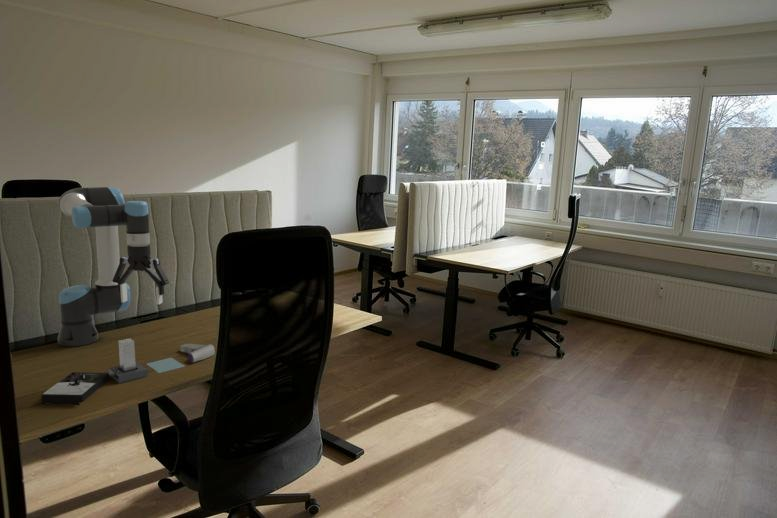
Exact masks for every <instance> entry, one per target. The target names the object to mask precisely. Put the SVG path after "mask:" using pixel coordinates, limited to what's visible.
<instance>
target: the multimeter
mask: <svg viewBox="0 0 777 518" xmlns="http://www.w3.org/2000/svg"><path fill="white" fill-rule="evenodd" d="M110 377H111V376H110V375H109V372H86V371H84V372H83V371H82V372H79V371H77V372H75V371H74V372H71V373H69V374H68V375H67V376H65V377H64V378H63V379H61V380H60V381H59V382H57V383H55V384H54V385H52V387H50V388H48V389H47V390H46V391H44V393H42V394H41V404H42V403H49V404H48V405H61V404H72V405H71V406H76V405H77V406H80V405H81V404H80V403H83V402H84V401H86V400H87V399H88V398H89V397H91V396H92V394H93V393H95V392H96V391H97V390H98V389H100V388H101V387H102V386H103V385H105V384H106V383H107V382H108V381H109V380H110V379H111V378H110ZM50 403H51V404H50Z"/></svg>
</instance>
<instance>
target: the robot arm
mask: <svg viewBox="0 0 777 518" xmlns="http://www.w3.org/2000/svg"><path fill="white" fill-rule="evenodd" d="M58 209H59V210H60V211H61V212H62V213H63V214H64V215H66V216H67V217H71V221H72V224H73V225H72V226H73V227H75V228H79V229H81V228H82V229H87V228H95V239H96V256H97V259H96V260H97V272H98V278H97V280H96V281H95V283H94V284H95V285H94V286H95V287H91V286H90V285H89V284H77V285H72V286H68V287H65V288H63V289H62V290H61V291H60V292H59V295H58V304H59V313H60V329H59V332H58V336H57V345H59V346H62V347H79V346H80V347H81V346H87V345H90V344H93V343H95V342H97V341H98V340H99V332H98V330H97V328H96V326H95V323H94V322H93V316H94V315H102V314H110V313H118V312H122V311H127V310H128V308H129V307H130V303H131V287H130V284H128V283H127V282H126V280H128V278H129V277H130V275H132V273H133V272H134V271H136V272H137V271H140V272H145V273H147V275H148V276H149V277H150V278H151V279H152V280H153V282H154V284H156V285H157V286H155V292H156V293H155V296H156V305H161V304H163V301H164V300H163V295H165V286H167V285H169V284H170V281H169V279H168V277H167V275H166V273H165V272H164V270H163V267H162V265H161V261H160V258H158V257H157V258H151V245H150V243H151V237H150V236H151V234H150V219H149V217H150V215H149V213H150V212H149V211H150V210H149V205H148V202H147V201H144V200H128V201H125V197H124V196H123V193H122V191H121V190H120V189H119V188H118V187H111V186H100V187H99V186H98V187H75V188H72V189H69V190H67V191H65V192H64V193H63V194H62V195H61V196H60V197H59V200H58ZM121 226H122V227H123V226H125V230H126V231H125V232H126V234H125V235H126V244H127V246H126V250H127V256H128V257H127V256H122V257H120V239H119V227H121ZM127 263H128V265H129V266H128V267H127V268H126V265H127ZM125 268H126V270H125ZM123 272H124V273H123Z"/></svg>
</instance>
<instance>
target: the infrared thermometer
mask: <svg viewBox="0 0 777 518" xmlns="http://www.w3.org/2000/svg"><path fill="white" fill-rule="evenodd" d="M180 352H181V353H186V354H188V355H187V360H188V361H189V362H190V363H197V362H199V361H203V360H205V359H209V358H211V357H213V356H215V353H216V350H215V346H214V344H211V343H209V344H198V343H197V344H195V343H184V344H181V345H180Z"/></svg>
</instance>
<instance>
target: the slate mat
mask: <svg viewBox="0 0 777 518" xmlns="http://www.w3.org/2000/svg"><path fill="white" fill-rule="evenodd" d="M146 365H147V366H148V367H150V368H151V369H152V370H154V371H155V372H157V373H158V374H161V373H165V372H169V371H172V370H173V371H174V370H177V369H181V368H184V367H186V366H185V365H184V364H183V363H182V362H180V361H178V360H176V359H175V358H173V357H168V358H164V359H159V360H155V361H153V362H152V361H151V362H147V363H146Z"/></svg>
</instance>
